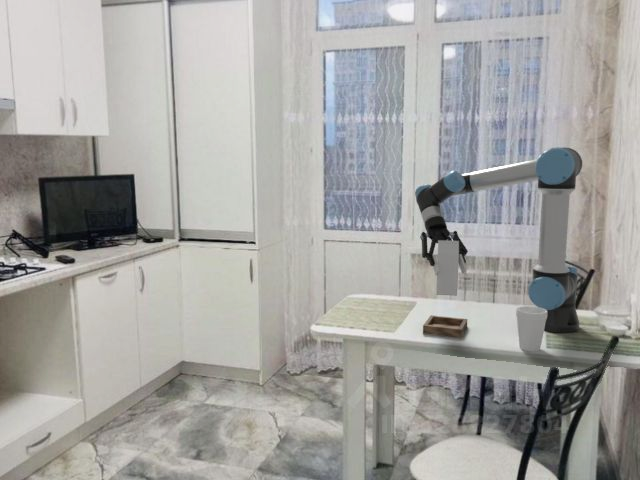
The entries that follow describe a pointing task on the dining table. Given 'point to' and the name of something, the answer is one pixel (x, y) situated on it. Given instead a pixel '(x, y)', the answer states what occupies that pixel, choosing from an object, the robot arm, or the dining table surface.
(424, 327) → the tray
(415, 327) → the dining table surface
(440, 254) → the milk carton
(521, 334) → the foam cup
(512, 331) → the dining table surface
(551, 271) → the robot arm
